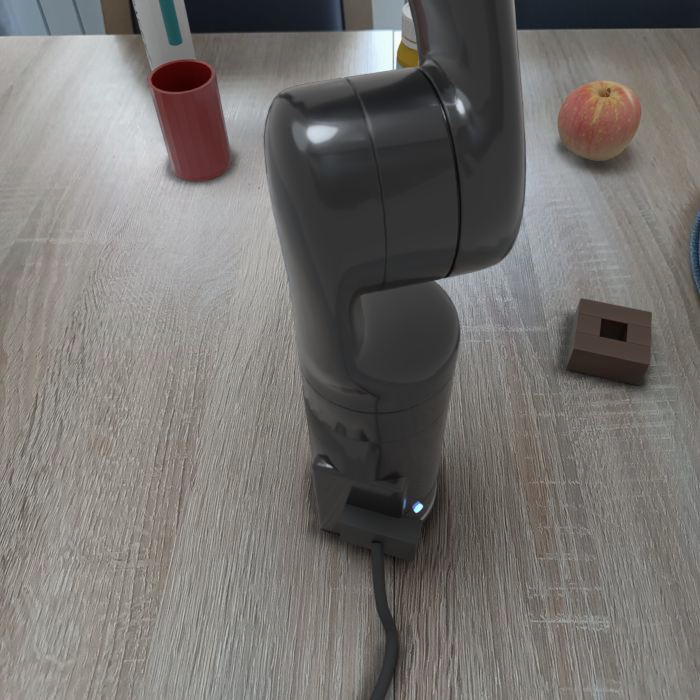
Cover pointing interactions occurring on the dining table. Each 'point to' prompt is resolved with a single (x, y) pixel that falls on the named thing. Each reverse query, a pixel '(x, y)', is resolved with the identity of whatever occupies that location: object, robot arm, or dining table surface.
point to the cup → (191, 118)
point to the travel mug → (162, 33)
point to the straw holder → (610, 341)
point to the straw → (171, 22)
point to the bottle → (407, 42)
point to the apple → (599, 120)
